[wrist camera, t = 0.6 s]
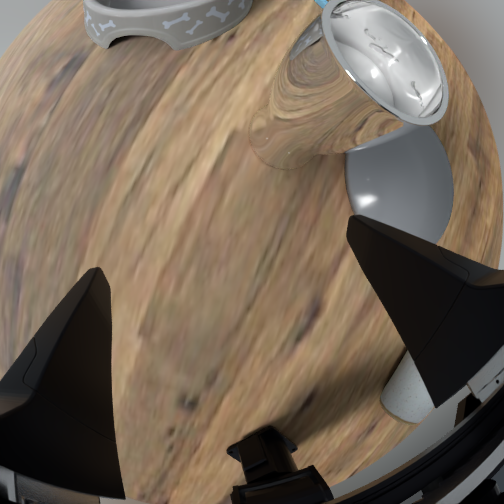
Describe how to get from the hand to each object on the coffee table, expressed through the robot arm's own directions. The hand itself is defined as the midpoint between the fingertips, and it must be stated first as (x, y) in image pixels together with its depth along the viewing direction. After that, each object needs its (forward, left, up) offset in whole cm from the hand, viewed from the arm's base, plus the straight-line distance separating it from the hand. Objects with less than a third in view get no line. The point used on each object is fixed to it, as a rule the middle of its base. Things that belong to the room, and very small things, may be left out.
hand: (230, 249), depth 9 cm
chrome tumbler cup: (+3, -10, -13) cm, 17 cm away
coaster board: (-7, -20, -13) cm, 24 cm away
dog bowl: (+24, -10, -14) cm, 29 cm away
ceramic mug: (-29, -10, -13) cm, 33 cm away
